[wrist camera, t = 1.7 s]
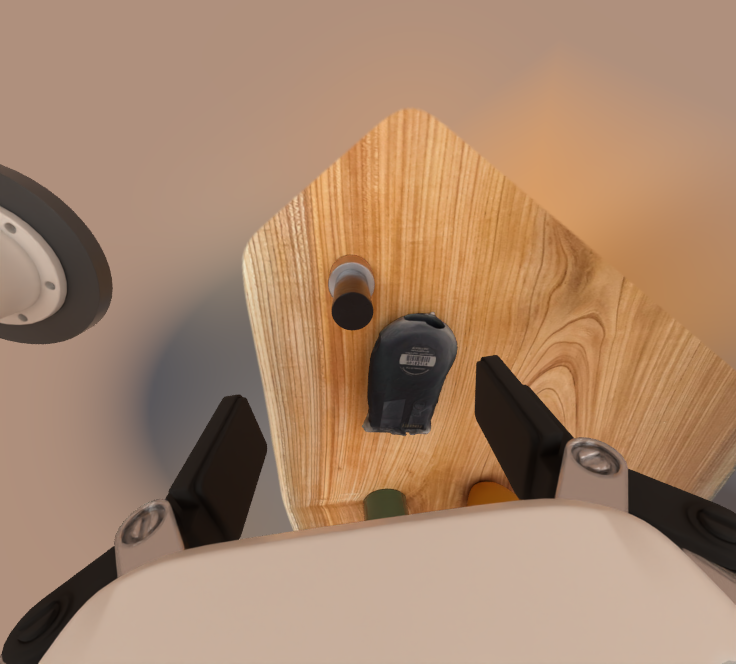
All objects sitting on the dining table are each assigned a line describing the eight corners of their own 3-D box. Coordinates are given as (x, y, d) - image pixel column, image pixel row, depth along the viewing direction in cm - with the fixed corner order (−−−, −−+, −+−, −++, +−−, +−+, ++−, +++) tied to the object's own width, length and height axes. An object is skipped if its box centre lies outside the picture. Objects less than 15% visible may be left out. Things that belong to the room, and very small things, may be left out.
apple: (522, 492, 47) (571, 580, 37) (467, 513, 49) (499, 602, 39) (503, 459, 43) (553, 547, 33) (445, 483, 45) (474, 574, 35)
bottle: (356, 511, 47) (360, 667, 32) (372, 485, 44) (386, 642, 29) (395, 518, 48) (417, 670, 33) (413, 493, 46) (446, 647, 31)
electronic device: (431, 408, 39) (464, 315, 31) (436, 444, 35) (476, 347, 26) (364, 398, 39) (378, 303, 31) (359, 433, 35) (374, 332, 26)
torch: (324, 287, 29) (315, 327, 21) (338, 248, 27) (334, 275, 19) (363, 301, 30) (368, 344, 22) (378, 263, 28) (390, 295, 20)
